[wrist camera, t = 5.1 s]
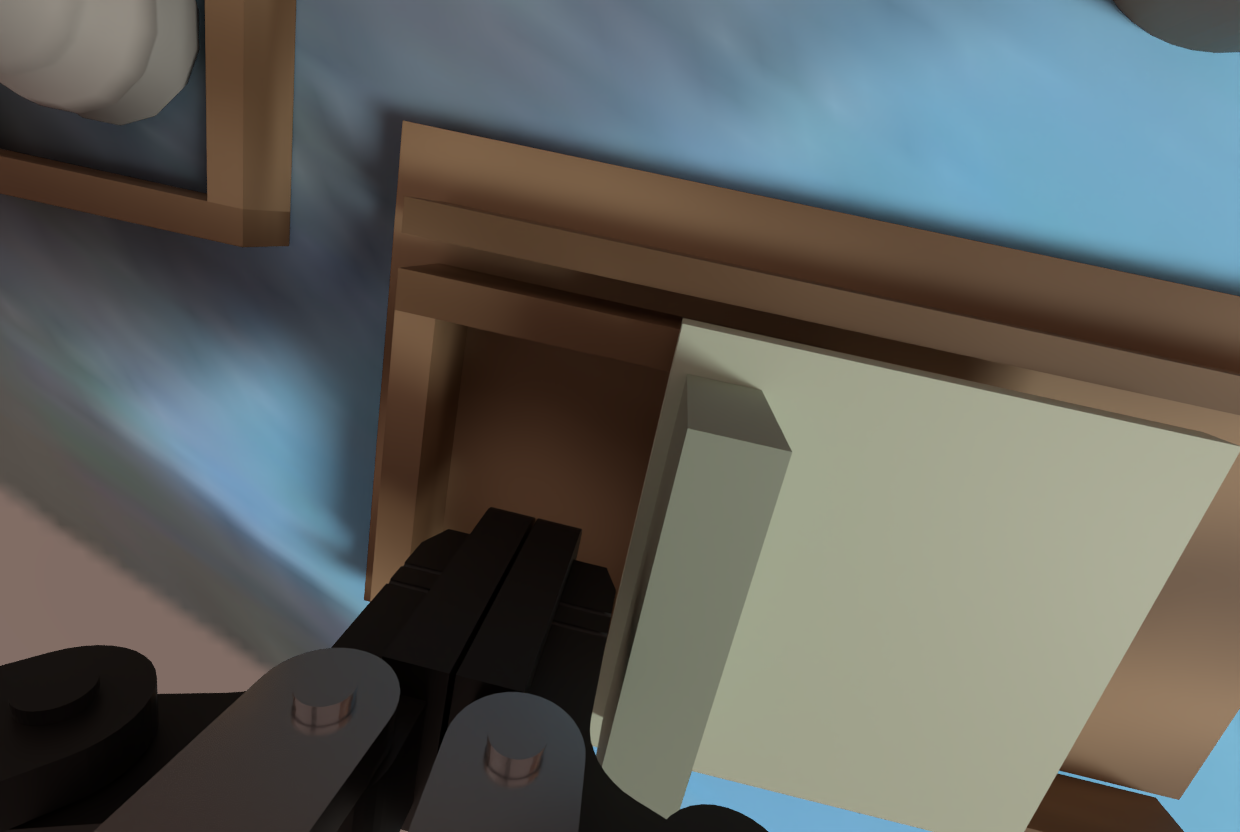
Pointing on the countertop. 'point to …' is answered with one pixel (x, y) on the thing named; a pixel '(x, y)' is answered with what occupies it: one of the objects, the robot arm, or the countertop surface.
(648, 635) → the cover
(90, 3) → the rook chess piece
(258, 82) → the wooden square frame
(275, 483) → the countertop surface
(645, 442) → the shallow wooden box
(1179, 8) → the tan rounded block
